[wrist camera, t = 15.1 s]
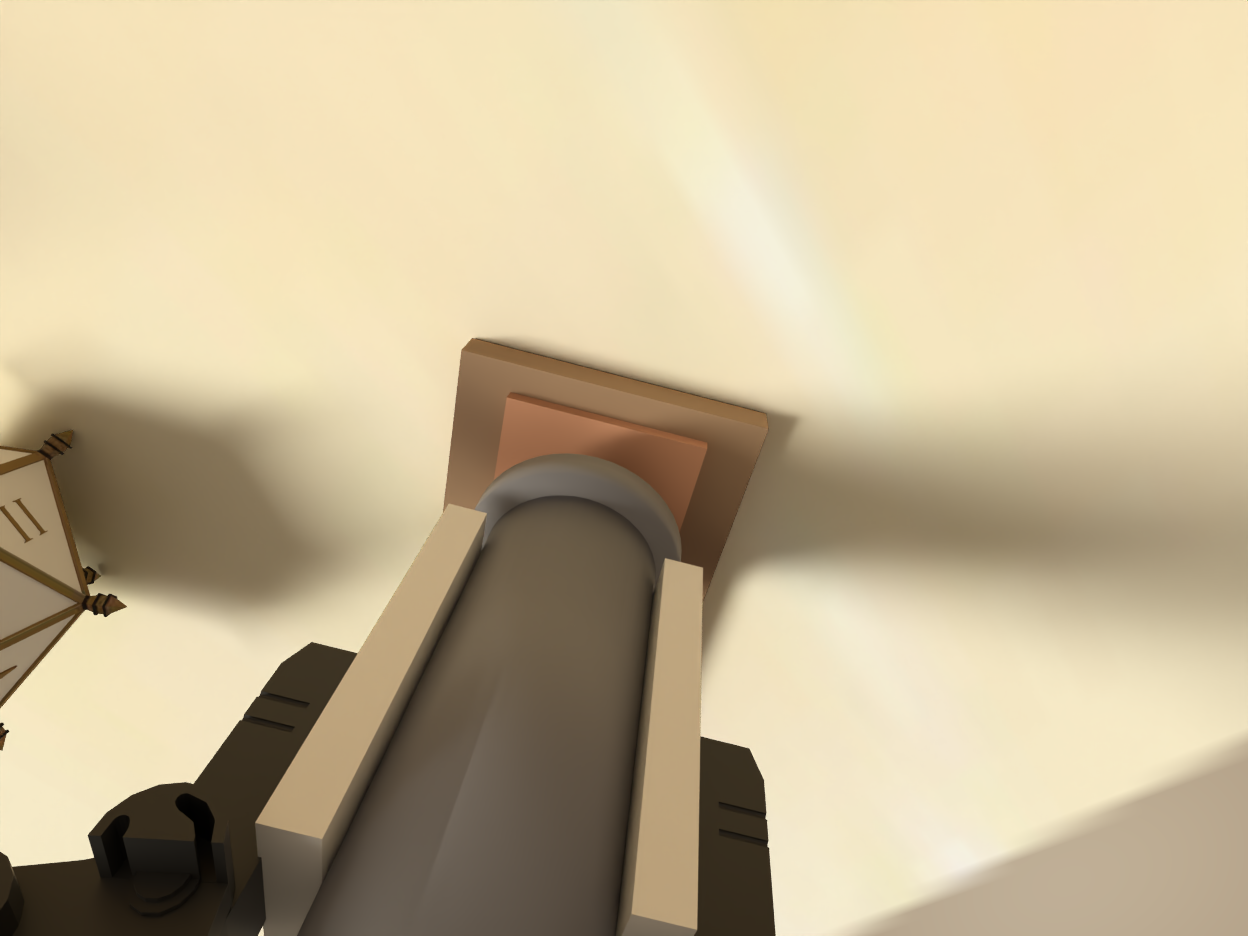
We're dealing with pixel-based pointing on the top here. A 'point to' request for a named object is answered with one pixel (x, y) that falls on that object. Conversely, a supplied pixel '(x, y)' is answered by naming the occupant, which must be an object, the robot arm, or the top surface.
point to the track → (604, 437)
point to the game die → (37, 565)
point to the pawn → (517, 725)
